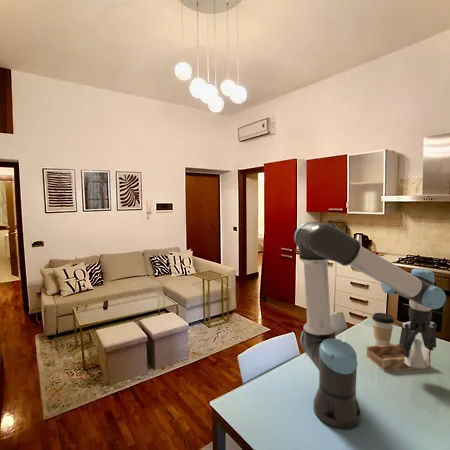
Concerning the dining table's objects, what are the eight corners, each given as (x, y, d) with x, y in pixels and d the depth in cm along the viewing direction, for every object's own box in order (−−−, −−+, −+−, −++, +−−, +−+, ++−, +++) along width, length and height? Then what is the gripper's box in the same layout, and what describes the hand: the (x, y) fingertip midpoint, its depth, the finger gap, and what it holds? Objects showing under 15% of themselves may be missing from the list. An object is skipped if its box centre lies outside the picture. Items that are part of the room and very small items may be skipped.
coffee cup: (393, 343, 147) (394, 314, 146) (392, 351, 139) (394, 321, 138) (372, 338, 152) (373, 311, 152) (370, 346, 144) (371, 317, 143)
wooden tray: (384, 371, 122) (384, 360, 122) (366, 356, 134) (367, 346, 134) (429, 368, 124) (430, 357, 124) (408, 353, 137) (409, 343, 136)
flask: (429, 370, 111) (431, 345, 110) (409, 368, 112) (411, 343, 112) (421, 361, 118) (423, 337, 117) (401, 358, 119) (403, 335, 119)
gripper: (404, 312, 108) (400, 370, 110) (451, 311, 111) (446, 368, 112) (390, 305, 116) (387, 360, 117) (435, 304, 118) (430, 358, 120)
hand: (416, 364), depth 115 cm, fingers closed on flask, 7 cm apart
